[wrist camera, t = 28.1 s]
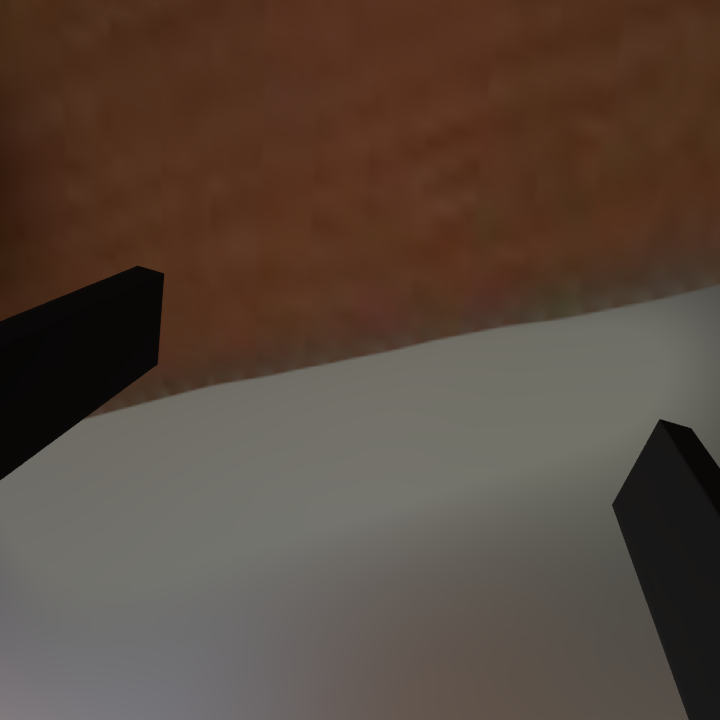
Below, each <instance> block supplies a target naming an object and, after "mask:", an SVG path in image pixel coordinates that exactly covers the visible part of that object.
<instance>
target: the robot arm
mask: <svg viewBox="0 0 720 720" xmlns="http://www.w3.org/2000/svg"><path fill="white" fill-rule="evenodd" d="M163 283H164V273H161V272H157V271H154V270H150V269H147V268H144V267H140V266H136V267H133V268H131V269H128V270H126V271H124V272H121V273H119V274H116V275H114V276H111V277H109V278H106V279H104V280H101V281H99V282H96V283H94V284H91V285H89V286H86V287H84V288H81V289H79V290H77V291H74V292H72V293H69V294H67V295H64V296H62V297H59V298H57V299H54V300H52V301H49V302H47V303H44V304H42V305H39V306H37V307H35V308H32V309H30V310H27V311H25V312H22V313H20V314H17V315H15V316H12V317H10V318H7V319H5V320H2V321H0V480H1V479H3V478H4V477H5V476H7V475H8V474H9V473H11V472H12V471H14V470H15V469H16V468H18V467H19V466H20V465H22V464H23V463H24V462H26V461H27V460H28V459H30V458H31V457H33V456H34V455H35V454H37V453H38V452H39V451H41V450H42V449H43V448H45V447H46V446H47V445H49V444H50V443H52V442H53V441H54V440H55V439H57V438H58V437H60V436H61V435H62V434H64V433H65V432H66V431H68V430H69V429H70V428H72V427H73V426H75V425H76V424H77V423H79V422H80V421H81V420H83V419H84V418H85V417H87V416H88V415H89V414H91V413H92V412H94V411H95V410H96V409H98V408H99V407H100V406H102V405H103V404H104V403H106V402H107V401H108V400H110V399H111V398H113V397H114V396H115V395H117V394H118V393H119V392H121V391H122V390H123V389H125V388H126V387H127V386H129V385H130V384H132V383H133V382H134V381H136V380H137V379H138V378H140V377H141V376H142V375H144V374H145V373H146V372H148V371H149V370H150V369H152V368H153V367H155V366H156V365H157V364H158V352H159V338H160V325H161V311H162V297H163ZM612 506H613V509H614V512H615V515H616V517H617V520H618V523H619V526H620V528H621V531H622V534H623V537H624V540H625V543H626V545H627V548H628V551H629V554H630V557H631V559H632V562H633V565H634V568H635V571H636V573H637V576H638V579H639V582H640V585H641V587H642V590H643V593H644V596H645V599H646V601H647V604H648V607H649V610H650V612H651V615H652V618H653V621H654V623H655V626H656V629H657V632H658V635H659V637H660V640H661V643H662V646H663V649H664V652H665V654H666V657H667V660H668V663H669V666H670V668H671V671H672V674H673V677H674V680H675V682H676V685H677V688H678V691H679V694H680V696H681V699H682V702H683V705H684V707H685V710H686V713H687V716H688V718H689V720H720V468H719V467H718V465H717V464H716V462H715V461H714V460H713V458H712V457H711V456H710V454H709V453H708V451H707V450H706V449H705V447H704V446H703V444H702V443H701V441H700V440H699V439H698V437H697V436H696V434H695V433H694V432H693V430H692V429H691V428H688V427H685V426H681V425H678V424H675V423H671V422H667V421H665V420H661V419H660V420H659V421H658V423H657V425H656V427H655V428H654V430H653V432H652V434H651V436H650V437H649V439H648V441H647V443H646V445H645V446H644V449H643V450H642V452H641V454H640V455H639V457H638V459H637V461H636V463H635V465H634V466H633V468H632V470H631V472H630V474H629V475H628V477H627V479H626V481H625V482H624V484H623V486H622V488H621V490H620V492H619V493H618V495H617V497H616V499H615V501H614V502H613V504H612Z"/></svg>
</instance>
